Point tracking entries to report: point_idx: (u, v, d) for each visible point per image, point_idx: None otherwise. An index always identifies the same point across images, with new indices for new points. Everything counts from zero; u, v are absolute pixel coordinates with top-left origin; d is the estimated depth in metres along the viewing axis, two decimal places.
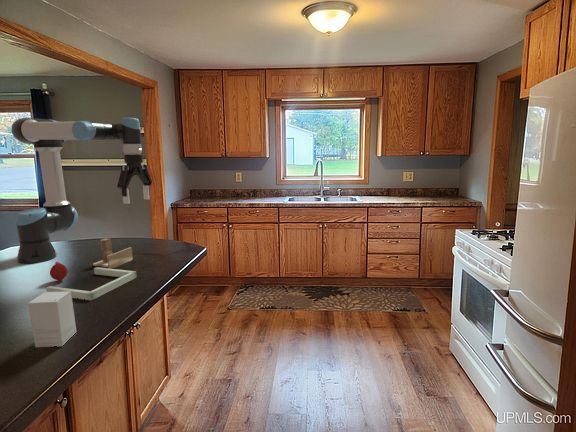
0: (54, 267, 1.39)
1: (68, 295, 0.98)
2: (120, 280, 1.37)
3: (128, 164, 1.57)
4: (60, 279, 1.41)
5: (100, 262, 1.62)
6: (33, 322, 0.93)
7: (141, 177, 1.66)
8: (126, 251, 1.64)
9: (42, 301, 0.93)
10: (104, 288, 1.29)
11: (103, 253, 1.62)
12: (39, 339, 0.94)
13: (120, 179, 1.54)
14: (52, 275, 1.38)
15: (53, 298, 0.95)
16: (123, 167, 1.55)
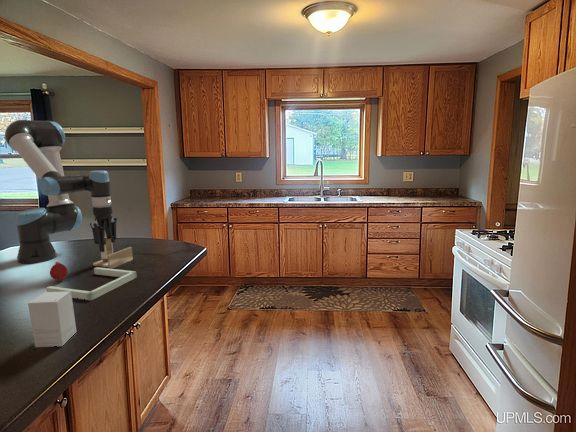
0: (54, 267, 1.39)
1: (68, 295, 0.98)
2: (120, 280, 1.37)
3: (97, 217, 1.57)
4: (60, 279, 1.41)
5: (100, 262, 1.62)
6: (33, 321, 0.93)
7: (107, 230, 1.63)
8: (126, 251, 1.64)
9: (42, 301, 0.93)
10: (104, 288, 1.29)
11: None
12: (39, 338, 0.94)
13: (94, 237, 1.57)
14: (52, 275, 1.38)
15: (53, 298, 0.95)
16: (92, 225, 1.55)
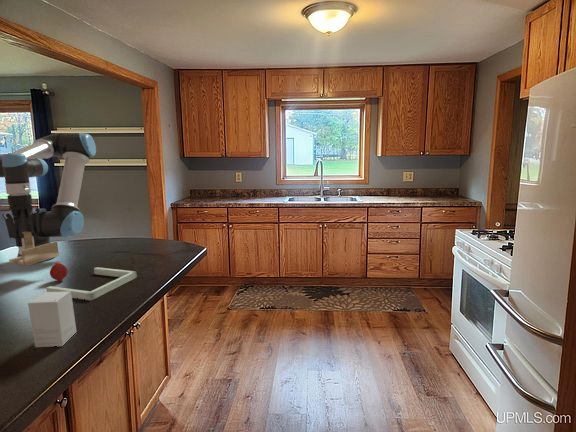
0: (54, 267, 1.39)
1: (68, 295, 0.98)
2: (120, 280, 1.37)
3: (11, 207, 1.37)
4: (60, 279, 1.41)
5: (18, 258, 1.42)
6: (33, 321, 0.93)
7: (27, 222, 1.43)
8: (49, 246, 1.44)
9: (42, 301, 0.93)
10: (104, 288, 1.29)
11: None
12: (39, 338, 0.94)
13: (9, 229, 1.37)
14: (52, 275, 1.38)
15: (53, 298, 0.95)
16: (5, 215, 1.35)
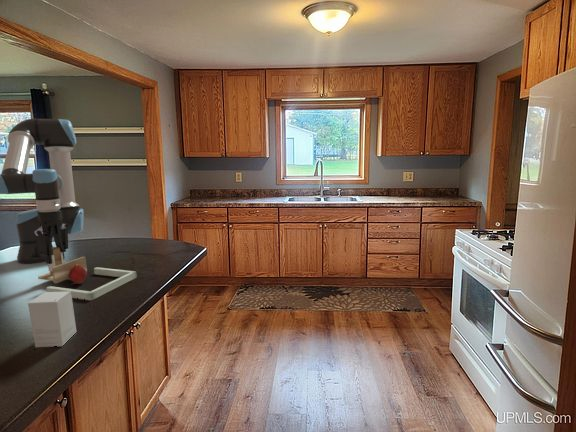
0: (73, 270, 1.36)
1: (68, 295, 0.98)
2: (120, 280, 1.37)
3: (41, 223, 1.34)
4: (79, 282, 1.38)
5: (47, 275, 1.39)
6: (33, 322, 0.93)
7: (56, 239, 1.40)
8: (78, 261, 1.41)
9: (42, 301, 0.93)
10: (104, 288, 1.29)
11: None
12: (39, 339, 0.94)
13: (39, 246, 1.34)
14: (71, 277, 1.35)
15: (53, 298, 0.95)
16: (35, 233, 1.32)
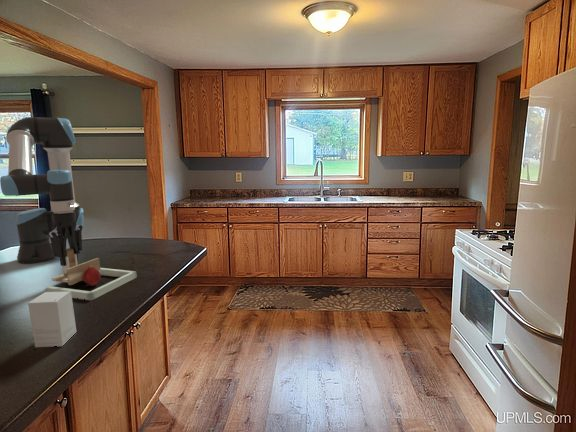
0: (87, 271, 1.34)
1: (68, 295, 0.98)
2: (120, 280, 1.37)
3: (56, 225, 1.32)
4: (93, 284, 1.36)
5: (60, 276, 1.37)
6: (33, 321, 0.93)
7: (70, 240, 1.38)
8: (92, 263, 1.40)
9: (42, 301, 0.93)
10: (104, 288, 1.29)
11: None
12: (39, 338, 0.94)
13: (53, 248, 1.32)
14: (86, 279, 1.34)
15: (53, 298, 0.95)
16: (50, 234, 1.30)
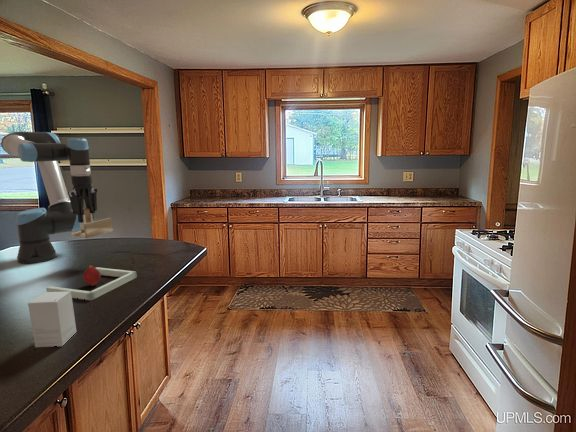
0: (87, 271, 1.34)
1: (68, 295, 0.98)
2: (120, 280, 1.37)
3: (75, 186, 1.52)
4: (93, 283, 1.36)
5: (78, 232, 1.58)
6: (33, 322, 0.93)
7: (87, 201, 1.59)
8: (105, 221, 1.60)
9: (42, 301, 0.93)
10: (104, 288, 1.29)
11: None
12: (39, 339, 0.94)
13: (73, 206, 1.53)
14: (86, 279, 1.34)
15: (53, 298, 0.95)
16: (70, 194, 1.50)
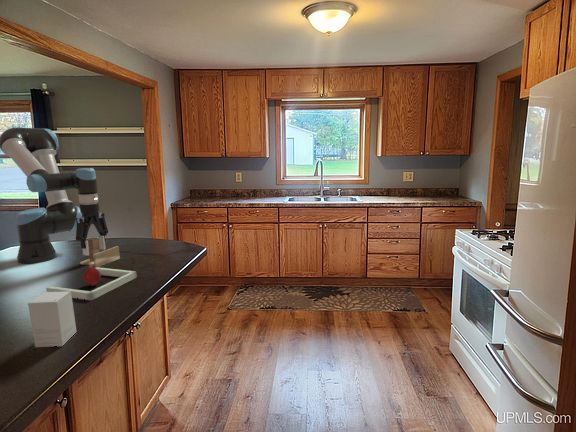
0: (87, 271, 1.34)
1: (68, 295, 0.98)
2: (120, 280, 1.37)
3: (83, 214, 1.58)
4: (93, 283, 1.36)
5: (87, 261, 1.64)
6: (33, 321, 0.93)
7: (97, 226, 1.66)
8: (113, 250, 1.66)
9: (42, 301, 0.93)
10: (104, 288, 1.29)
11: (90, 252, 1.64)
12: (39, 338, 0.94)
13: (77, 232, 1.56)
14: (86, 279, 1.34)
15: (53, 298, 0.95)
16: (78, 220, 1.56)
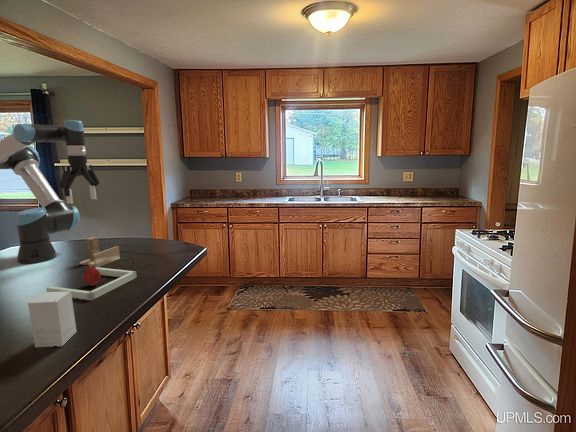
0: (87, 271, 1.34)
1: (68, 295, 0.98)
2: (120, 280, 1.37)
3: (71, 165, 1.63)
4: (93, 283, 1.36)
5: (87, 261, 1.64)
6: (33, 321, 0.93)
7: (87, 177, 1.71)
8: (113, 250, 1.66)
9: (42, 301, 0.93)
10: (104, 288, 1.29)
11: (90, 252, 1.64)
12: (39, 338, 0.94)
13: (62, 179, 1.59)
14: (86, 279, 1.34)
15: (53, 298, 0.95)
16: (65, 167, 1.60)
